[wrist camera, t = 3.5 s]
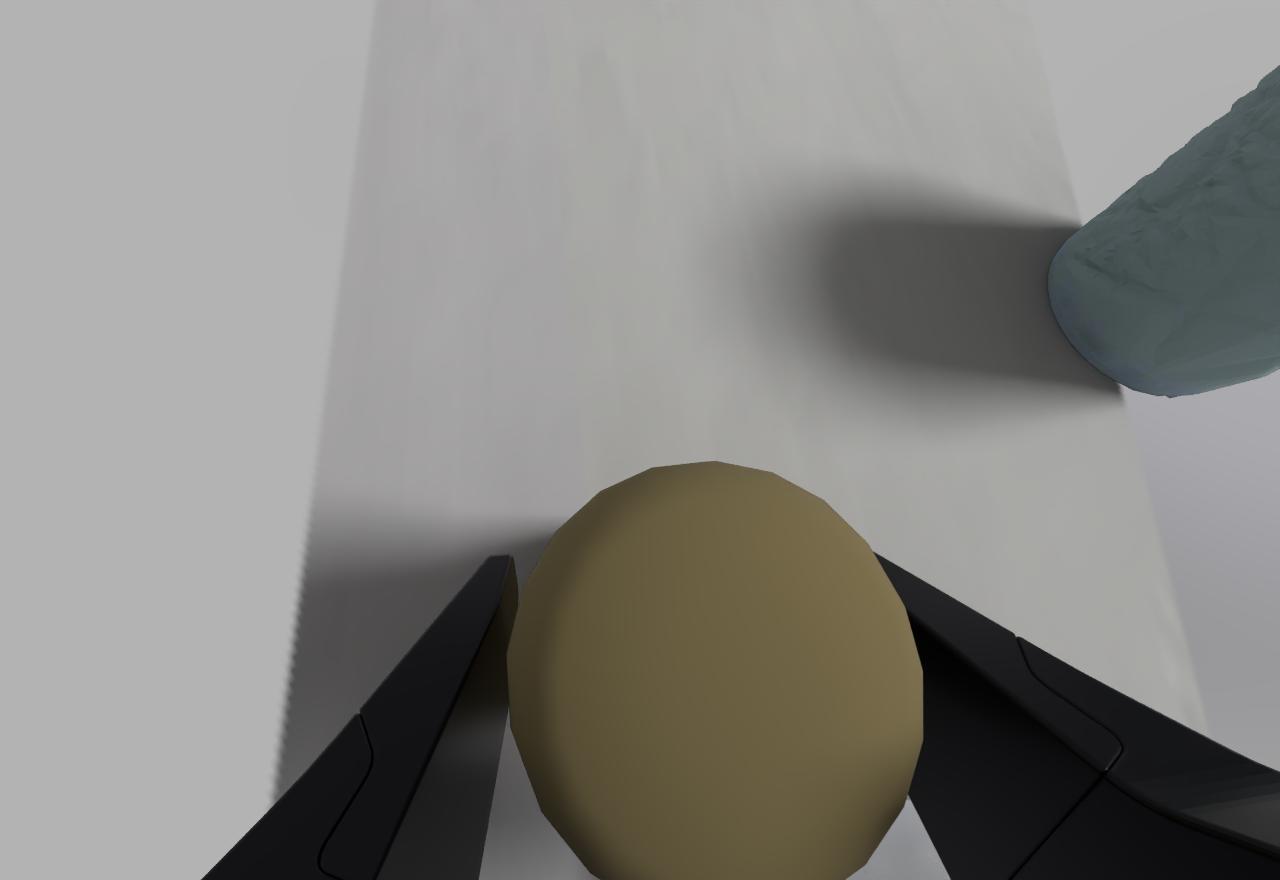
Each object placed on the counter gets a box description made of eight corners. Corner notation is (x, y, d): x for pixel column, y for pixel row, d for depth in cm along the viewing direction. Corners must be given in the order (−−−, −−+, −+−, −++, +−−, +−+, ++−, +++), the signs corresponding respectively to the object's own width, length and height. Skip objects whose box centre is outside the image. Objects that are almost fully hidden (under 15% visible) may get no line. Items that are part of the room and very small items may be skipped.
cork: (509, 586, 15) (314, 600, 4) (661, 483, 16) (783, 312, 6) (614, 761, 14) (684, 1328, 3) (767, 634, 15) (1148, 752, 5)
